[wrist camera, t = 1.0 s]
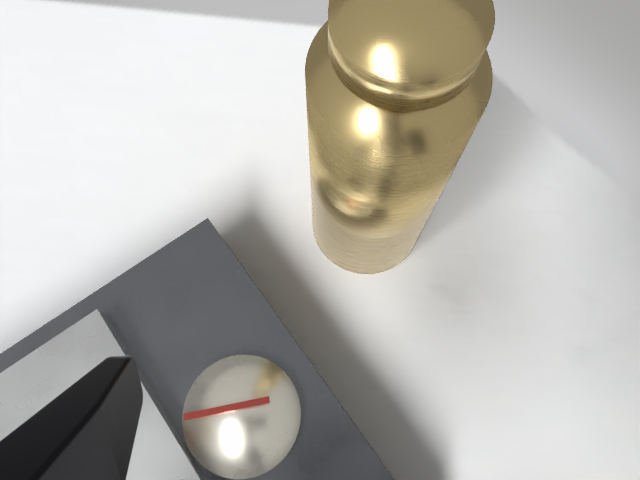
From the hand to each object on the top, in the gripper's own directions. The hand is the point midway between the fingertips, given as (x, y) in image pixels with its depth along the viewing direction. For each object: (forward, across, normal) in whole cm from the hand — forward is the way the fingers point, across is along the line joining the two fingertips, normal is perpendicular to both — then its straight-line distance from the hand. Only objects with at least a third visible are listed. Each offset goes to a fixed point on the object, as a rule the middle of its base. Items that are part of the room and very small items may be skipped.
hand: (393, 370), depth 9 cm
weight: (+16, -1, +5) cm, 16 cm away
